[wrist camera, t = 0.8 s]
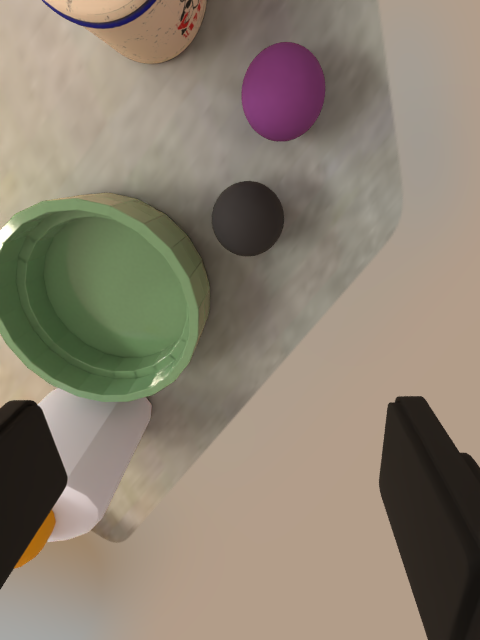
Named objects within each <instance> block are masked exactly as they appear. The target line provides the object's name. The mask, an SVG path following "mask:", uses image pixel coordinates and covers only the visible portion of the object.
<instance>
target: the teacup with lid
mask: <svg viewBox="0 0 480 640" xmlns="http://www.w3.org/2000/svg"><path fill="white" fill-rule="evenodd" d="M42 1H43V2H44V3H45V4H46V5H47V6H48V7H50V8H51V9H52V10H53V11H54V12H56V13H57V14H59V15H60V16H62V17H63V18H65V19H67V20H69V21H71V22H73V23H76V24H78V25H81V26H83V27H85V28H86V29H88V30H89V31H90V32H92V33H93V34H94V35H96V36H97V37H98V38H100V39H101V40H103V41H104V42H105V43H107V44H108V45H109V46H111V47H112V48H114V49H115V50H116V51H118V52H119V53H121V54H122V55H123V56H125V57H127V58H129V59H131V60H134V61H137V62H141V63H147V64H154V63H161V62H165V61H168V60H170V59H172V58H174V57H176V56H177V55H179V54H180V53H181V52H182V51H184V50H185V49H186V48H187V47H188V45H189V44H190V43H191V42H192V40H193V39H194V37H195V36H196V34H197V32H198V30H199V28H200V25H201V23H202V20H203V17H204V13H205V9H206V3H207V0H42Z"/></svg>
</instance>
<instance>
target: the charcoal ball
mask: <svg viewBox="0 0 480 640" xmlns="http://www.w3.org/2000/svg"><path fill="white" fill-rule="evenodd" d="M283 223H284V213H283V208H282V205H281V203H280V201H279V199H278V197H277V196H276V194H275V193H274V192H273V191H272V190H271V189H269V188H268V187H266V186H265V185H263V184H260V183H257V182H252V181H244V182H239V183H236V184H233V185H231V186H230V187H228V188H227V189H226V190H224V191H223V192H222V194H221V195H220V196H219V197H218V199H217V201H216V203H215V205H214V208H213V212H212V225H213V230H214V233H215V235H216V237H217V239H218V240H219V242H220V243H221V244H222V245H223V246H224V247H225V248H226V249H227V250H229V251H230V252H232V253H234V254H237V255H241V256H254V255H258V254H261V253H263V252H265V251H267V250H268V249H269V248H271V247H272V246H273V245H274V244H275V242H276V241H277V240H278V238H279V236H280V234H281V232H282V228H283Z"/></svg>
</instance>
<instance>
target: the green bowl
mask: <svg viewBox="0 0 480 640" xmlns="http://www.w3.org/2000/svg"><path fill="white" fill-rule="evenodd" d="M209 307H210V285H209V281H208V278H207V274H206V270H205V267H204V263H203V260H202V259H201V257H200V255H199V254H198V252H197V250H196V249H195V247H194V245H193V244H192V242H191V240H190V239H189V237H188V236H187V234H186V233H185V232H184V231H182V230H181V229H180V228H179V227H178V226H177V225H176V224H175V223H174V222H173V221H172V220H171V219H170V218H169V217H168V216H167V215H166V214H164V213H162V212H161V211H159V210H157V209H155V208H153V207H151V206H150V205H148V204H146V203H144V202H142V201H140V200H138V199H135V198H131V197H126V196H122V195H117V194H113V193H98V194H87V195H78V196H72V197H66V198H59V199H53V200H46V201H42V202H40V203H38V204H35V205H33V206H31V207H29V208H27V209H25V210H23V211H20V212H18V213H16V214H15V215H14V216H13V217H12V218H11V219H10V220H9V221H8V222H7V223H6V224H5V225H4V226H3V228H2V229H1V230H0V334H1V336H2V337H3V339H4V341H5V343H6V344H7V345H8V346H9V348H10V349H11V350H12V351H13V352H14V353H15V354H16V355H17V357H18V358H19V359H20V360H21V361H22V362H23V363H24V364H25V365H26V366H27V368H29V369H30V370H32V371H33V372H34V373H36V374H37V375H38V376H40V377H41V378H42V379H44V380H45V381H46V382H48V383H49V384H51V385H53V386H55V387H57V388H60V389H62V390H64V391H66V392H68V393H70V394H73V395H75V396H77V397H82V398H86V399H91V400H95V401H100V402H129V401H133V400H137V399H140V398H144V397H147V396H151V395H153V394H156V393H157V392H159V391H160V390H162V389H163V388H165V387H166V386H168V385H170V384H171V383H173V382H174V381H175V380H176V379H177V378H178V376H179V375H180V374H181V373H182V371H183V370H184V369H185V368H186V366H187V365H188V364H189V362H190V361H191V358H192V356H193V353H194V351H195V349H196V346H197V344H198V342H199V339H200V337H201V335H202V332H203V329H204V326H205V323H206V320H207V318H208V315H209Z"/></svg>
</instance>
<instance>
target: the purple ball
mask: <svg viewBox="0 0 480 640" xmlns="http://www.w3.org/2000/svg"><path fill="white" fill-rule="evenodd" d="M324 98H325V79H324V74H323V71H322V68H321V66H320V64H319V62H318V60H317V59H316V57H315V56H314V55H313V54H312V53H311V52H310V51H309V50H308V49H306V48H305V47H303V46H301V45H299V44H296V43H292V42H281V43H276V44H273V45H271V46H269V47H267V48H265V49H264V50H263V51H261V52H260V53H259V54H258V55H257V56H256V57H255V59H254V60H253V61H252V62H251V64H250V66H249V67H248V69H247V72H246V74H245V77H244V80H243V85H242V105H243V110H244V113H245V116H246V118H247V120H248V122H249V124H250V125H251V126H252V128H253V129H254V130H255V131H256V132H257V133H258V134H260V135H261V136H263V137H264V138H267V139H269V140H273V141H289V140H292V139H295V138H297V137H299V136H301V135H302V134H304V133H305V132H306V131H307V130H309V128H310V127H311V126H312V125H313V124H314V122H315V121H316V120H317V118H318V116H319V114H320V112H321V109H322V106H323V103H324Z"/></svg>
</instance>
